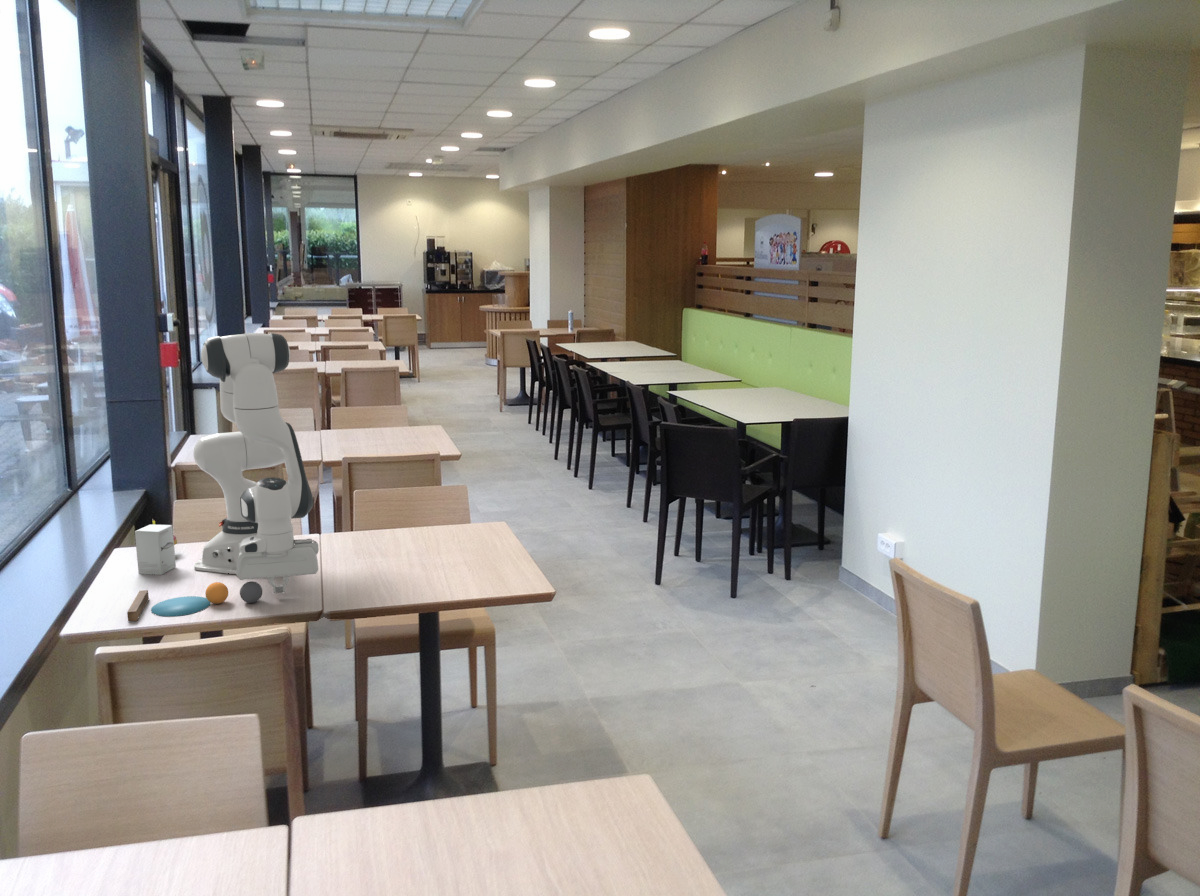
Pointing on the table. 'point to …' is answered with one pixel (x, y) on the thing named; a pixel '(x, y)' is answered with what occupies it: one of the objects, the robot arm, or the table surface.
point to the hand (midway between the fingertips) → (279, 592)
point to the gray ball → (251, 592)
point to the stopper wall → (138, 605)
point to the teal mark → (180, 606)
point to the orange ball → (216, 593)
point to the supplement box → (155, 549)
